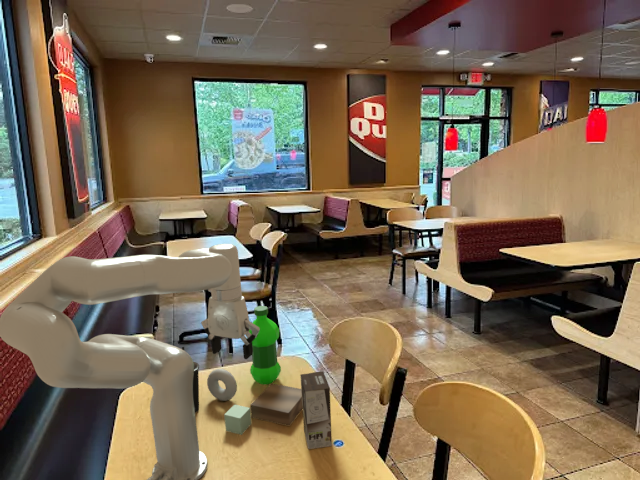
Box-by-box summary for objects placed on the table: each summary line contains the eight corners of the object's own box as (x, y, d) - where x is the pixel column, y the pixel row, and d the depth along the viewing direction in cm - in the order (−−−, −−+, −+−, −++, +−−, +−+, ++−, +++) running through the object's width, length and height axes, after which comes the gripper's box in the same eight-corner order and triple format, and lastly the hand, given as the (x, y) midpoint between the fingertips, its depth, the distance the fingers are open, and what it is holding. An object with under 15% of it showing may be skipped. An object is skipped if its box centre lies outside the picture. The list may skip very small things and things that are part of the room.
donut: (240, 399, 134) (237, 369, 132) (234, 405, 131) (231, 374, 129) (213, 393, 138) (210, 364, 136) (206, 399, 135) (203, 369, 133)
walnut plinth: (289, 426, 121) (288, 413, 120) (251, 417, 125) (250, 404, 124) (307, 402, 131) (307, 390, 131) (272, 395, 136) (271, 383, 135)
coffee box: (332, 446, 112) (330, 388, 108) (307, 450, 111) (304, 391, 108) (326, 424, 121) (324, 370, 117) (303, 427, 120) (299, 373, 116)
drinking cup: (176, 406, 132) (168, 344, 128) (202, 400, 135) (196, 339, 130) (176, 420, 125) (168, 355, 121) (204, 414, 128) (197, 350, 123)
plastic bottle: (285, 373, 149) (281, 303, 143) (275, 390, 139) (270, 315, 133) (257, 371, 151) (252, 301, 146) (245, 387, 141) (239, 313, 136)
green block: (241, 435, 118) (240, 418, 117) (225, 431, 120) (224, 414, 119) (251, 424, 123) (250, 407, 121) (236, 420, 124) (234, 404, 123)
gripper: (189, 294, 113) (196, 356, 117) (247, 300, 106) (253, 365, 110) (207, 285, 120) (213, 343, 124) (263, 290, 113) (268, 352, 117)
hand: (232, 354), depth 117 cm, fingers open, 9 cm apart
